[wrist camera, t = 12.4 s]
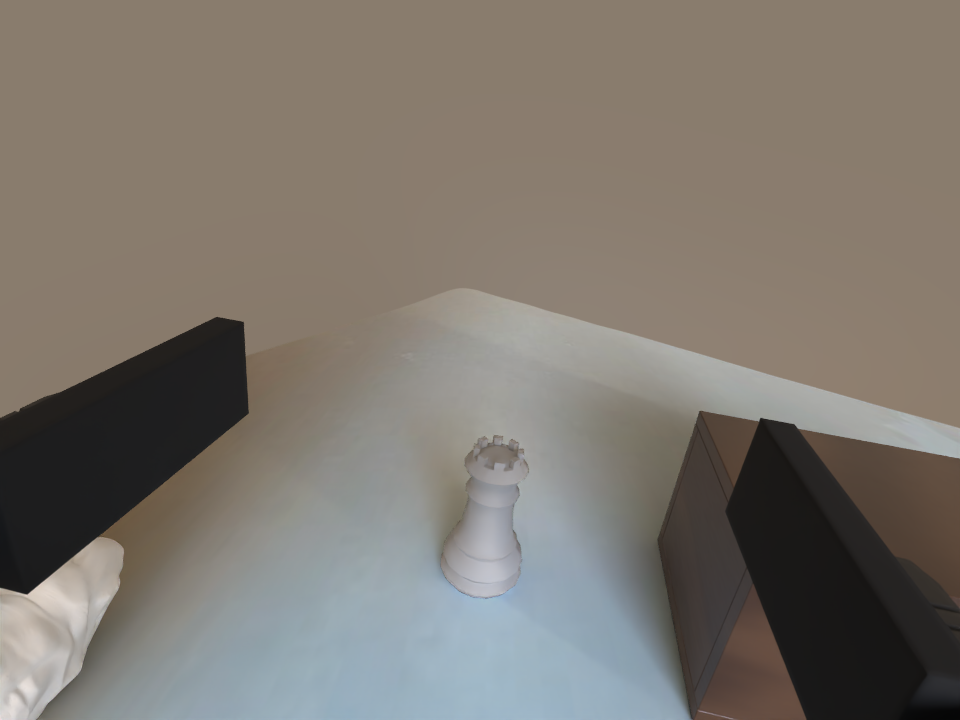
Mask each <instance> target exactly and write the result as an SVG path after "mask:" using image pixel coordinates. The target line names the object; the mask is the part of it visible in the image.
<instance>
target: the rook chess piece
mask: <svg viewBox="0 0 960 720" xmlns="http://www.w3.org/2000/svg"><path fill="white" fill-rule="evenodd" d="M502 440H503V436H497V435H494V436H493V443H488V438H487V437H485V436H484V437H482V438H479V439H478V444H474V449H473V450H472V451H471V452H470V453H469V454H468V455H467V456H466V457H465V465H464V466H465V467H466V469H467V470H468V472H469V474H470V475H471V478H470V479H469V480H468V481H467V483H466V492H467V493H468V501H467V504H466V507H465V510H464V513H463V517H462V519H461V520H460V521H459V522H458V524H457V525H456V526H455V528H453V530H452V531H451V532H450V534H449V535H448V537H447V538H446V540H445V542H444V552H443V553H442V557H441V568H442V571H443V573H444V575H445V578H446V579H447V580H448V581H449V582H450V583H451V584H452V585H453V586H454V587H455V588H456V589H457V590H458V591H460V592H462V593H464V594H466V595H469V596H471V597H476V598H491V597H495V596H499V595H501V594H503V593H505V592H506V591H508V590H509V589H510V588H512V587H513V586H515V585H516V583H517V581H518V578H519V576H520V574H521V571H520V564H521V562H522V557H521V548H520V544H519V542H518V540H517V538H516V533H515V532H514V530H513V508H514V503H515V502H516V501H517V500H518V498H519V496H520V493H519V488H518V487H517V484H518V483H520V482H521V481H523V480H524V479H525V478H526V476H527V474H528V473H529V470H528V464H527V463H526V461H525V460H524V449H518V447H519V443H518V442H516V441H515V440H513V439H511V440H510V441H509V445H505V444H502Z"/></svg>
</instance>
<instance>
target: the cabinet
mask: <svg viewBox="0 0 960 720" xmlns="http://www.w3.org/2000/svg"><path fill="white" fill-rule="evenodd" d="M758 424H759V422H758V421H753V420H747V419H742V418H736V417H731V416H726V415H720V414H715V413H709V412H704V411H699V414H698V417H697V420H696V424H695V427H694V430H693V433H692V436H691V439H690V442H689V445H688V448H687V451H686V454H685V457H684V460H683V464H682V467H681V470H680V473H679V476H678V479H677V482H676V485H675V488H674V491H673V494H672V497H671V500H670V503H669V507H668V510H667V513H666V516H665V519H664V522H663V525H662V528H661V531H660V534H659V537H658V545H659V550H660V555H661V561H662V566H663V571H664V576H665V581H666V586H667V592H668V597H669V602H670V607H671V612H672V617H673V622H674V628H675V633H676V638H677V643H678V648H679V653H680V659H681V664H682V669H683V674H684V679H685V684H686V690H687V695H688V700H689V705H690V710H691V715H692V720H807V719H806V717H805V714H804V712H803V709H802V707H801V704H800V702H799V699H798V697H797V694H796V691H795V689H794V686H793V684H792V681H791V679H790V676H789V674H788V671H787V668H786V666H785V663H784V661H783V658H782V656H781V653H780V651H779V648H778V645H777V643H776V640H775V638H774V635H773V633H772V630H771V628H770V625H769V623H768V620H767V617H766V615H765V612H764V610H763V607H762V605H761V602H760V600H759V597H758V594H757V592H756V589H755V587H754V584H753V582H752V579H751V577H750V574H749V572H748V569H747V566H746V564H745V561H744V559H743V556H742V554H741V551H740V549H739V546H738V543H737V541H736V538H735V536H734V533H733V531H732V528H731V526H730V523H729V520H728V518H727V515H726V513H725V510H726V507H727V505H728V502H729V499H730V497H731V494H732V492H733V489H734V486H735V484H736V481H737V479H738V476H739V473H740V471H741V468H742V465H743V463H744V460H745V458H746V455H747V452H748V450H749V447H750V445H751V442H752V439H753V437H754V434H755V431H756V429H757V426H758ZM798 430H799V431H800V432H801V434H802V435H803V436H804V438H805V439H806V440H807V442H808V443H809V444H810V446H811V447H812V448H813V449H814V451H815V452H816V453H817V455H818V456H819V457H820V459H821V460H822V461H823V463H824V464H825V465H826V467H827V468H828V469H829V471H830V472H831V473H832V475H833V476H834V477H835V478H836V480H837V481H838V482H839V484H840V485H841V486H842V488H843V489H844V490H845V492H846V493H847V494H848V496H849V497H850V498H851V500H852V501H853V502H854V503H855V505H856V506H857V507H858V509H859V510H860V511H861V513H862V514H863V515H864V517H865V518H866V519H867V521H868V522H869V523H870V525H871V526H872V527H873V529H874V530H875V531H876V532H877V534H878V535H879V536H880V538H881V539H882V540H883V542H884V543H885V544H886V546H887V547H888V548H889V550H890V551H891V552H892V554H893V555H894V556H895V557H900V558H905V559H909V560H911V561H912V562H913V563H915V564H916V565H917V566H918V567H919V568H921V569H922V570H923V571H924V572H926V573H927V574H928V575H929V576H931V577H932V578H933V579H934V580H935V581H937V582H938V583H939V584H940V585H941V586H942V587H943V589H944V590H945V591H946V592H947V594H948V595H949V596H950V597H951V599H952V600H953V601H954V602H955V603H956V605H957V606H958V607H959V608H960V459H959V458H953V457H948V456H942V455H937V454H932V453H926V452H921V451H915V450H910V449H904V448H899V447H894V446H888V445H883V444H877V443H872V442H867V441H861V440H856V439H850V438H845V437H839V436H834V435H829V434H823V433H818V432H812V431H807V430H801V429H798Z"/></svg>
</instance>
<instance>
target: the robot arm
mask: <svg viewBox="0 0 960 720" xmlns="http://www.w3.org/2000/svg"><path fill="white" fill-rule="evenodd" d="M248 413H249V411H248V393H247V375H246V357H245V338H244V322H241V321H236V320H230V319H225V318H219V317H216V318H214V319H212V320H210V321H208V322H205V323H203V324H201V325H199V326H197V327H195V328H193V329H191V330H189V331H187V332H185V333H182V334H180V335H178V336H176V337H174V338H172V339H170V340H168V341H166V342H164V343H162V344H160V345H158V346H155V347H153V348H151V349H149V350H147V351H145V352H143V353H141V354H139V355H137V356H135V357H133V358H131V359H129V360H126V361H124V362H123V363H120V364H118V365H116V366H114V367H112V368H110V369H108V370H106V371H104V372H102V373H100V374H98V375H95V376H93V377H91V378H89V379H87V380H85V381H83V382H81V383H79V384H77V385H75V386H72V387H70V388H68V389H66V390H64V391H62V392H60V393H56V394H53V395H50V396H46V397H43V398H41V399H39V400H37V401H35V402H33V403H31V404H29V405H27V406H25V407H23V408H21V409H20V411H19V412H16V411H14V412H12V413H10V414H8V415H6V416H4V417H2V418H0V588H3V589H7V590H10V591H14V592H18V593H22V594H26V595H27V594H29V593H30V592H31V591H32V590H34V589H35V588H36V587H37V586H38V585H40V584H41V583H42V582H43V581H45V580H46V579H47V578H48V577H49V576H51V575H52V574H53V573H54V572H56V571H57V570H58V569H59V568H60V567H62V566H63V565H64V564H65V563H67V562H68V561H69V560H70V559H71V558H73V557H74V556H75V555H76V554H78V553H79V552H80V551H81V550H82V549H84V548H85V547H86V546H87V545H89V544H90V543H91V542H92V541H93V540H95V539H96V538H97V537H98V536H100V535H101V534H102V533H103V532H104V531H106V530H107V529H108V528H109V527H110V526H112V525H113V524H114V523H115V522H117V521H118V520H119V519H120V518H121V517H123V516H124V515H125V514H126V513H128V512H129V511H130V510H131V509H132V508H134V507H135V506H136V505H137V504H139V503H140V502H141V501H142V500H143V499H145V498H146V497H147V496H148V495H150V494H151V493H152V492H153V491H154V490H156V489H157V488H158V487H159V486H161V485H162V484H163V483H164V482H165V481H167V480H168V479H169V478H170V477H172V476H173V475H174V474H175V473H176V472H178V471H179V470H180V469H181V468H183V467H184V466H185V465H186V464H187V463H189V462H190V461H191V460H192V459H194V458H195V457H196V456H197V455H198V454H200V453H201V452H202V451H203V450H204V449H206V448H207V447H208V446H209V445H211V444H212V443H213V442H214V441H215V440H217V439H218V438H219V437H220V436H222V435H223V434H224V433H225V432H226V431H228V430H229V429H230V428H231V427H233V426H234V425H235V424H236V423H237V422H239V421H240V420H241V419H242V418H244V417H245V416H246V415H247V414H248ZM725 513H726V515H727V518H728V520H729V523H730V526H731V528H732V531H733V533H734V536H735V538H736V541H737V543H738V546H739V549H740V551H741V554H742V556H743V559H744V561H745V564H746V566H747V569H748V572H749V574H750V577H751V579H752V582H753V584H754V587H755V589H756V592H757V594H758V597H759V600H760V602H761V605H762V607H763V610H764V612H765V615H766V617H767V620H768V623H769V625H770V628H771V630H772V633H773V635H774V638H775V640H776V643H777V645H778V648H779V651H780V653H781V656H782V658H783V661H784V663H785V666H786V668H787V671H788V674H789V676H790V679H791V681H792V684H793V686H794V689H795V691H796V694H797V697H798V699H799V702H800V704H801V707H802V709H803V712H804V714H805V717H806V719H807V720H960V608H959V607H958V606H957V605H956V603H955V602H954V601H953V600H952V599H951V597H950V596H949V595H948V594H947V592H946V591H945V590H944V589H943V587H942V586H941V585H940V584H939V583H938V582H937V581H935V580H934V579H933V578H932V577H931V576H929V575H928V574H927V573H926V572H924V571H923V570H922V569H921V568H919V567H918V566H917V565H916V564H915V563H913V562H912V561H911V560H909V559H905V558H900V557H895V556H894V555H893V554H892V552H891V551H890V550H889V548H888V547H887V546H886V544H885V543H884V542H883V540H882V539H881V538H880V536H879V535H878V534H877V532H876V531H875V530H874V529H873V527H872V526H871V525H870V523H869V522H868V521H867V519H866V518H865V517H864V515H863V514H862V513H861V511H860V510H859V509H858V507H857V506H856V505H855V503H854V502H853V501H852V500H851V498H850V497H849V496H848V494H847V493H846V492H845V490H844V489H843V488H842V486H841V485H840V484H839V482H838V481H837V480H836V478H835V477H834V476H833V475H832V473H831V472H830V471H829V469H828V468H827V467H826V465H825V464H824V463H823V461H822V460H821V459H820V457H819V456H818V455H817V453H816V452H815V451H814V449H813V448H812V447H811V446H810V444H809V443H808V442H807V440H806V439H805V438H804V436H803V435H802V434H801V432H800V431H799V430H798V428H797V427H796V426H795V424H790V423H784V422H779V421H774V420H768V419H763V418H760V421H759V424H758V426H757V429H756V431H755V434H754V437H753V439H752V442H751V445H750V447H749V450H748V452H747V455H746V458H745V460H744V463H743V465H742V468H741V471H740V473H739V476H738V479H737V481H736V484H735V486H734V489H733V492H732V494H731V497H730V499H729V502H728V505H727V507H726V510H725Z"/></svg>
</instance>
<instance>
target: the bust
mask: <svg viewBox="0 0 960 720" xmlns="http://www.w3.org/2000/svg"><path fill="white" fill-rule="evenodd" d="M123 556H124V549H123V547H122V546H121V545H120V544H119V543H118V542H116V541H114V540H112V539H110V538H105V537H97V538H96V539H95V540H93V541H92V542H91V543H90V544H89V545H87V546H86V547H85V548H84V549H82V550H81V551H80V552H79V553H78V554H76V555H75V556H74V557H73V558H71V559H70V560H69V561H68V562H67V563H65V564H64V565H63V566H62V567H60V568H59V569H58V570H57V571H56V572H54V573H53V574H52V575H51V576H49V577H48V578H47V579H46V580H45V581H43V582H42V583H41V584H40V585H38V586H37V587H36V588H35V589H34V590H32V591H31V592H30V593H29V594H27V595H26V594H22V593H18V592H14V591H10V590H7V589H3V588H0V720H36V719H37V718H38V717H39V716H40V715H41V713H42V712H43V711H44V709H45V707H46V705H47V704H48V703H49V702H50V701H51V700H52V699H53V698H54V697H55V696H56V695H57V694H58V693H59V692H60V691H61V690H62V689H63V688H64V687H65V686H66V685H67V684H68V683H69V682H70V681H72V680H73V679H74V678H75V677H76V676H77V675H78V674H79V672H80V671H81V669H82V666H83V660H84V657H85V654H86V651H87V647H88V645H89V643H90V641H91V639H92V637H93V634H94V633H95V631H96V629H97V627H98V625H99V623H100V621H101V619H102V617H103V615H104V613H105V611H106V609H107V607H108V605H109V604H110V602H111V600H112V599H113V597H114V595H115V593H116V592H117V591H118V589H119V585H120V578H119V574H120V572H121V570H122V567H123Z"/></svg>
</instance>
